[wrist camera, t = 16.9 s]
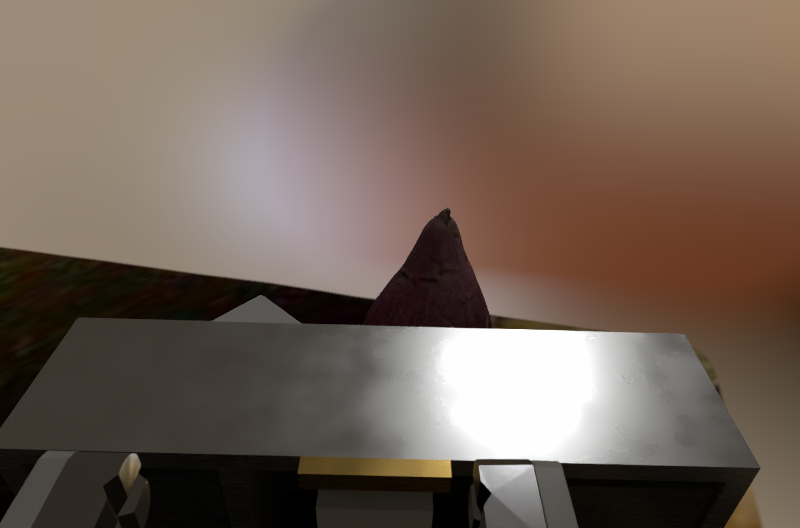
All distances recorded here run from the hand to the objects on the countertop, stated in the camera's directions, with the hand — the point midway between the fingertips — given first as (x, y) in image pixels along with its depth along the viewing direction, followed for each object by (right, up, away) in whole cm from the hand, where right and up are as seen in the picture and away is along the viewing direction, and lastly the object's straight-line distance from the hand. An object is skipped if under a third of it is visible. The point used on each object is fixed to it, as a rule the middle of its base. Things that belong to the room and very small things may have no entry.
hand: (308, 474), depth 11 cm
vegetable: (+3, -5, +34) cm, 35 cm away
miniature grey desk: (0, -12, +23) cm, 26 cm away
